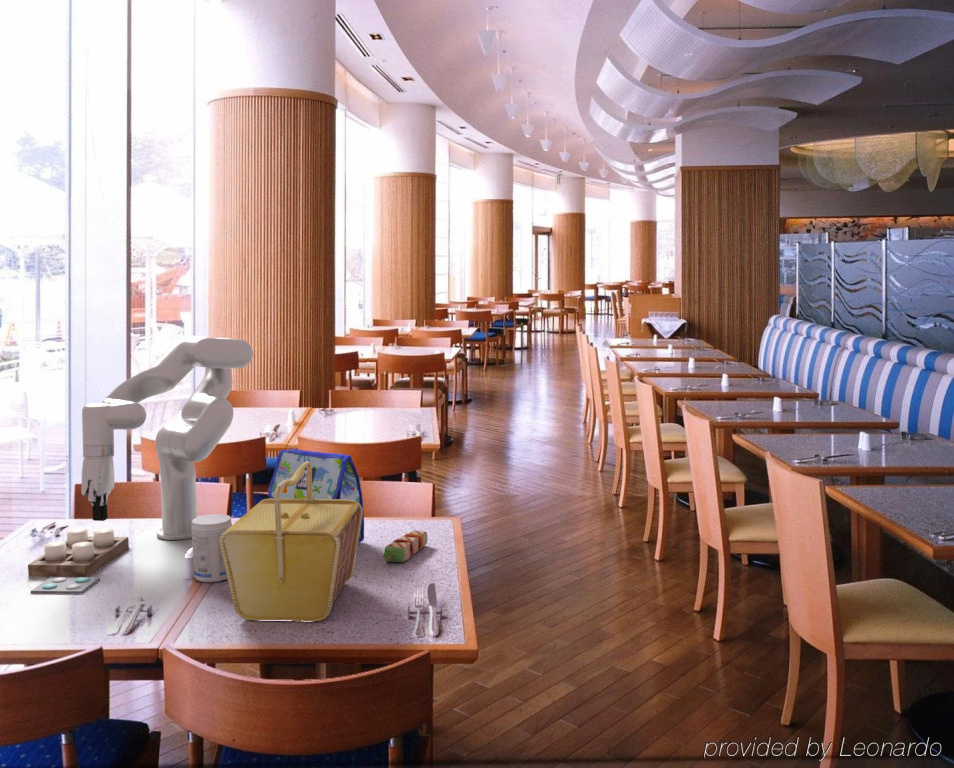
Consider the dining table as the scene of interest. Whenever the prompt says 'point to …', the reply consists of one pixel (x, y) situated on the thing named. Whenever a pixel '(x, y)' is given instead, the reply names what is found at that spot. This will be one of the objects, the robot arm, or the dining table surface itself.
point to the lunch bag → (318, 477)
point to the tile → (66, 585)
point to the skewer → (405, 546)
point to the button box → (78, 567)
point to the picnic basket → (291, 554)
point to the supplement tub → (209, 547)
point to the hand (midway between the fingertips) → (100, 519)
